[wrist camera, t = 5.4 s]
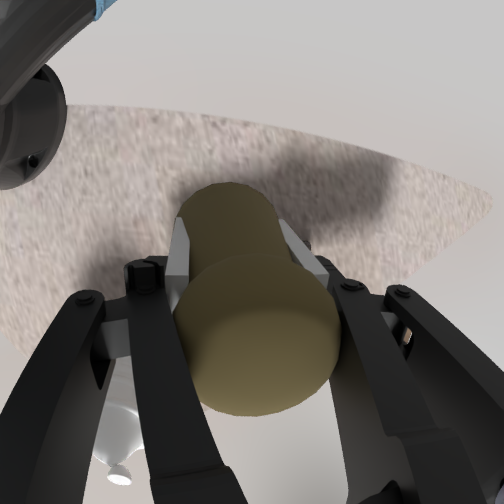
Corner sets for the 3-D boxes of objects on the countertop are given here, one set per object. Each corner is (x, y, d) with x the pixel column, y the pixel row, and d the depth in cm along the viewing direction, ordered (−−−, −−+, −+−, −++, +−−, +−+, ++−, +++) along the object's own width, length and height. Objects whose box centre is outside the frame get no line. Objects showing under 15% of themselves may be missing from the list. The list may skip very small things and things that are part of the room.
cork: (194, 166, 16) (189, 238, 6) (297, 204, 18) (410, 308, 8) (159, 267, 18) (132, 424, 8) (255, 295, 20) (309, 446, 10)
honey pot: (189, 371, 42) (193, 483, 26) (125, 403, 43) (113, 502, 27) (126, 307, 37) (95, 422, 21) (65, 349, 38) (25, 450, 22)
